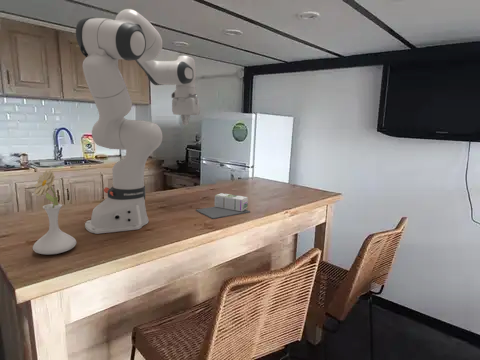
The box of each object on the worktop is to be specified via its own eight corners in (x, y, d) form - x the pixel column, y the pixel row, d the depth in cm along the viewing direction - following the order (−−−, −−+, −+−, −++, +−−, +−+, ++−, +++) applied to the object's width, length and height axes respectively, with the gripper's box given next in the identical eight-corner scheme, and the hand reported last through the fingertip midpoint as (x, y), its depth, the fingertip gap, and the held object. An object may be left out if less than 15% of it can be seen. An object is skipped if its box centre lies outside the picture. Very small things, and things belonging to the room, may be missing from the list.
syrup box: (214, 207, 147) (242, 212, 141) (214, 194, 146) (243, 199, 140) (220, 204, 153) (247, 209, 146) (220, 192, 151) (248, 196, 145)
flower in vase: (33, 246, 98) (26, 165, 93) (75, 240, 103) (70, 164, 99) (32, 263, 87) (24, 173, 82) (79, 256, 93) (74, 171, 88)
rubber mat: (212, 219, 131) (212, 218, 131) (195, 210, 142) (195, 209, 142) (250, 212, 143) (250, 211, 143) (232, 204, 154) (232, 203, 154)
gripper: (203, 94, 139) (202, 126, 141) (181, 95, 155) (181, 124, 157) (190, 92, 135) (190, 126, 138) (169, 94, 151) (169, 124, 154)
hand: (185, 125), depth 148 cm, fingers closed
